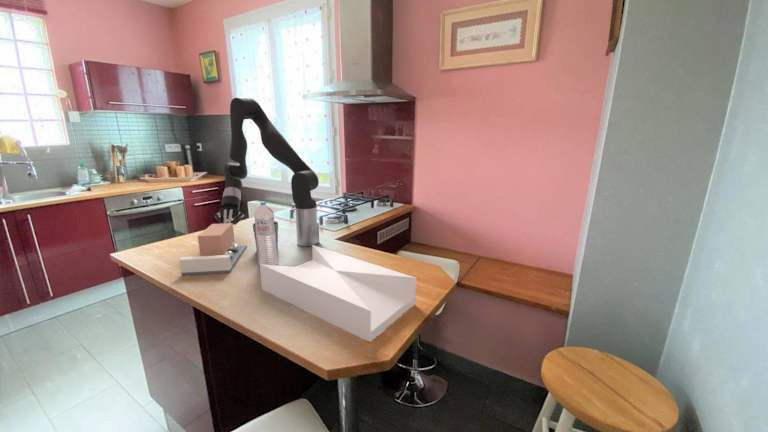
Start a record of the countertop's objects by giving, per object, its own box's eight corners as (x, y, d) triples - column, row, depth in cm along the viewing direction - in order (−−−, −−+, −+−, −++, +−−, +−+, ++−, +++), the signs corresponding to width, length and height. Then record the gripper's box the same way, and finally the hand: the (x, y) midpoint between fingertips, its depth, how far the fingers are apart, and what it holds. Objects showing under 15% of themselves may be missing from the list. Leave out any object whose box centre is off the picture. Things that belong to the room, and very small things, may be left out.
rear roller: (240, 249, 134) (239, 242, 133) (238, 252, 131) (237, 245, 130) (207, 250, 131) (206, 244, 131) (204, 253, 129) (203, 246, 128)
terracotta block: (214, 241, 133) (212, 223, 131) (234, 241, 135) (232, 223, 133) (200, 256, 118) (197, 236, 116) (223, 255, 120) (220, 235, 118)
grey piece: (207, 249, 136) (205, 235, 135) (246, 247, 139) (245, 234, 137) (181, 275, 112) (179, 259, 110) (230, 272, 114) (228, 257, 113)
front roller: (235, 256, 126) (234, 249, 125) (232, 259, 123) (232, 252, 123) (199, 258, 124) (198, 251, 123) (196, 261, 121) (195, 254, 120)
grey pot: (253, 255, 130) (250, 227, 127) (257, 246, 140) (254, 220, 137) (278, 253, 133) (276, 226, 129) (281, 245, 142) (279, 219, 139)
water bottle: (281, 263, 123) (277, 201, 116) (268, 270, 117) (262, 205, 110) (268, 260, 125) (263, 199, 119) (254, 267, 119) (248, 202, 113)
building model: (415, 306, 96) (416, 277, 93) (370, 344, 78) (370, 310, 76) (313, 268, 121) (312, 244, 118) (262, 290, 103) (259, 263, 101)
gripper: (213, 194, 141) (207, 229, 133) (244, 194, 144) (240, 228, 135) (218, 203, 148) (213, 236, 139) (248, 203, 150) (244, 235, 142)
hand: (226, 232), depth 137 cm, fingers closed
